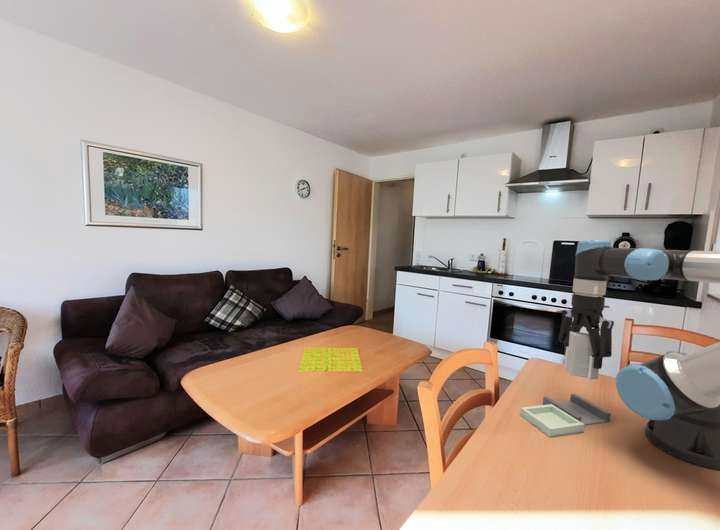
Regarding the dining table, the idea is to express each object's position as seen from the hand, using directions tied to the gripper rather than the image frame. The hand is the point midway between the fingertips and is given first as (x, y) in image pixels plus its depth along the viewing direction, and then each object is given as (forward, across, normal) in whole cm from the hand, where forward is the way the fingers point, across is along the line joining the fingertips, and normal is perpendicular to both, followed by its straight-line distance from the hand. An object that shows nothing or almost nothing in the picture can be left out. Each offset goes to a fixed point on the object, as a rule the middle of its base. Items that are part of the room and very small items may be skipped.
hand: (580, 372), depth 89 cm
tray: (+12, -3, +12) cm, 17 cm away
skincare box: (+1, 0, 0) cm, 1 cm away
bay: (+12, 0, 0) cm, 12 cm away
